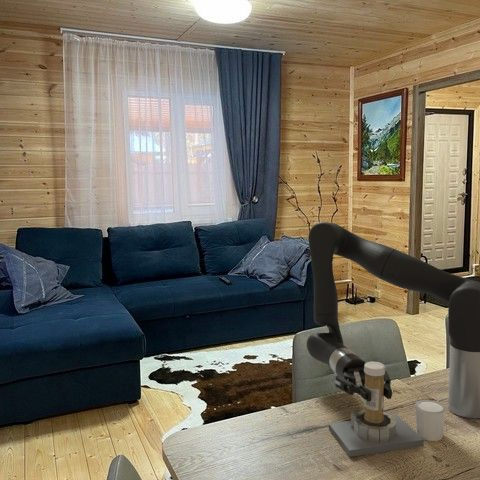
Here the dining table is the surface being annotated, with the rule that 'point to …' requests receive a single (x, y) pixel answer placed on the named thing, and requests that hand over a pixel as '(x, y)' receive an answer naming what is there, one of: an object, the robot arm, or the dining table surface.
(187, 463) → the dining table surface
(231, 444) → the dining table surface
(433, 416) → the white tapered cup
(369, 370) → the sprinkles bottle
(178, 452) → the dining table surface
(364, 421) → the stone block collar
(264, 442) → the dining table surface
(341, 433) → the socket plate
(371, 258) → the robot arm
